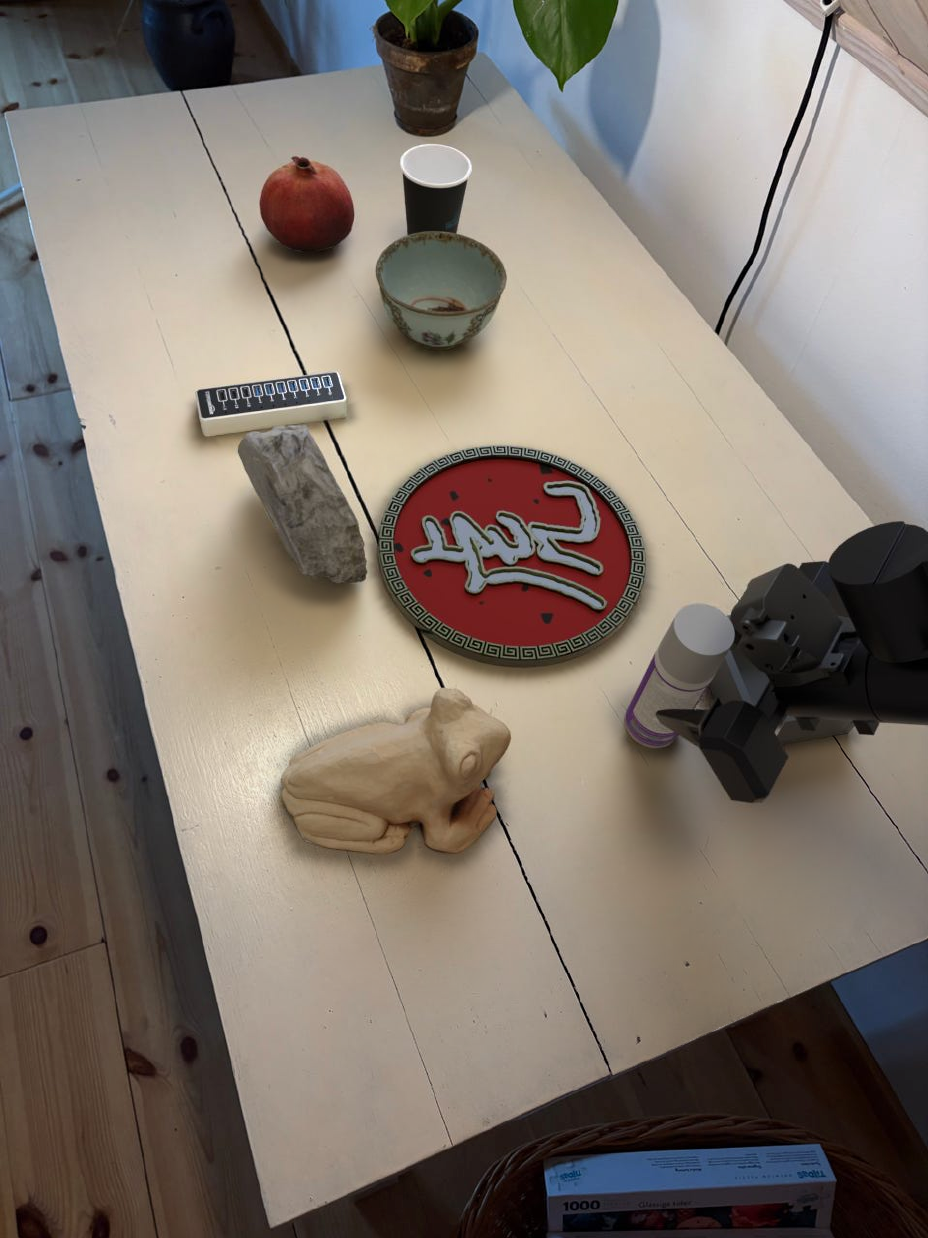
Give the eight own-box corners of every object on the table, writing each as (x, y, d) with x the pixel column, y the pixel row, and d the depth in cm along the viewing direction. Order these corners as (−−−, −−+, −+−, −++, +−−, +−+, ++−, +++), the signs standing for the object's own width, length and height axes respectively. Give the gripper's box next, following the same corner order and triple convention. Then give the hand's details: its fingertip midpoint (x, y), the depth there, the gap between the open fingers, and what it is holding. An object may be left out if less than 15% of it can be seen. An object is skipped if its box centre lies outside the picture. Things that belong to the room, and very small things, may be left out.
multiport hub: (347, 417, 96) (347, 400, 94) (203, 437, 93) (200, 420, 91) (339, 387, 99) (338, 370, 97) (197, 405, 95) (194, 388, 93)
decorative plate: (671, 654, 82) (384, 664, 79) (667, 661, 83) (384, 671, 80) (620, 443, 96) (373, 445, 93) (617, 451, 97) (373, 453, 94)
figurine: (510, 847, 73) (529, 797, 64) (283, 870, 70) (272, 821, 62) (488, 706, 79) (502, 644, 71) (279, 722, 77) (269, 659, 69)
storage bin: (799, 630, 86) (820, 601, 83) (848, 733, 81) (872, 708, 77) (692, 645, 85) (708, 617, 81) (735, 752, 79) (753, 727, 75)
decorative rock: (373, 595, 85) (373, 484, 72) (304, 622, 82) (292, 512, 70) (302, 470, 92) (292, 349, 79) (237, 491, 90) (215, 370, 77)
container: (647, 689, 82) (698, 590, 69) (689, 725, 80) (749, 631, 68) (612, 721, 80) (658, 626, 67) (655, 759, 78) (710, 668, 66)
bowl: (495, 295, 109) (503, 233, 102) (501, 376, 101) (510, 316, 95) (376, 289, 108) (377, 226, 101) (373, 371, 100) (374, 309, 94)
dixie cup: (393, 231, 114) (395, 143, 104) (458, 229, 115) (465, 142, 106) (401, 273, 109) (404, 185, 100) (468, 271, 111) (477, 184, 102)
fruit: (251, 258, 109) (241, 176, 100) (279, 209, 114) (272, 128, 106) (340, 277, 108) (338, 197, 100) (364, 227, 114) (364, 147, 105)
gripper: (893, 489, 62) (694, 515, 74) (782, 692, 52) (575, 684, 64) (945, 616, 66) (750, 621, 78) (852, 822, 57) (647, 793, 69)
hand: (685, 673), depth 72 cm, fingers open, 9 cm apart
